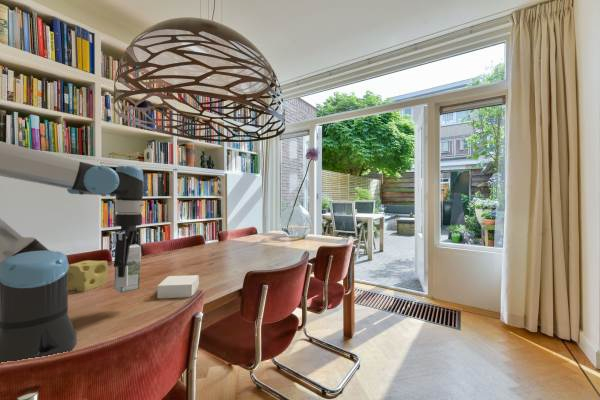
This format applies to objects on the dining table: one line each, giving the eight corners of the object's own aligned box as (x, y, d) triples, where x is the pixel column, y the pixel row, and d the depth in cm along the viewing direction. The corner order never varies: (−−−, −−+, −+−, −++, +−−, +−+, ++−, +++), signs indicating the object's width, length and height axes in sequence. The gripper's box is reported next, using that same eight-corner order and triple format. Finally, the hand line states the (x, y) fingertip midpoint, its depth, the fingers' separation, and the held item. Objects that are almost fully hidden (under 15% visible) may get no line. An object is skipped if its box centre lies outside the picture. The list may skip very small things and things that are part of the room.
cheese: (84, 292, 104) (84, 266, 104) (62, 290, 106) (62, 265, 106) (108, 284, 114) (108, 260, 114) (87, 282, 116) (87, 259, 116)
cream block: (191, 297, 101) (191, 284, 101) (157, 299, 99) (157, 285, 99) (198, 287, 113) (198, 275, 113) (168, 288, 111) (168, 276, 111)
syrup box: (133, 285, 93) (134, 243, 93) (140, 289, 89) (141, 245, 89) (114, 289, 88) (115, 245, 88) (120, 293, 85) (121, 247, 85)
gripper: (130, 215, 80) (128, 292, 80) (150, 212, 100) (149, 273, 100) (101, 215, 78) (99, 294, 78) (128, 211, 98) (126, 274, 98)
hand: (127, 282), depth 89 cm, fingers closed on syrup box, 8 cm apart
